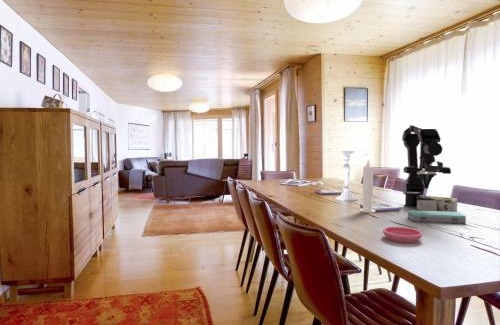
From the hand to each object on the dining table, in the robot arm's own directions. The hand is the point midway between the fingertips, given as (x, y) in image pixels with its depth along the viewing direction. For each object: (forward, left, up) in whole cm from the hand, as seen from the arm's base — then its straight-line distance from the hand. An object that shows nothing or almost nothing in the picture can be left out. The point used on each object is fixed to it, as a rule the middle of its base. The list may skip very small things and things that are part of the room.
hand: (426, 188), depth 155 cm
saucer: (+12, -48, -12) cm, 51 cm away
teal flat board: (+8, -10, -12) cm, 18 cm away
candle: (-21, -15, -12) cm, 28 cm away
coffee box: (+8, +14, -9) cm, 19 cm away
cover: (+8, -10, -10) cm, 16 cm away
